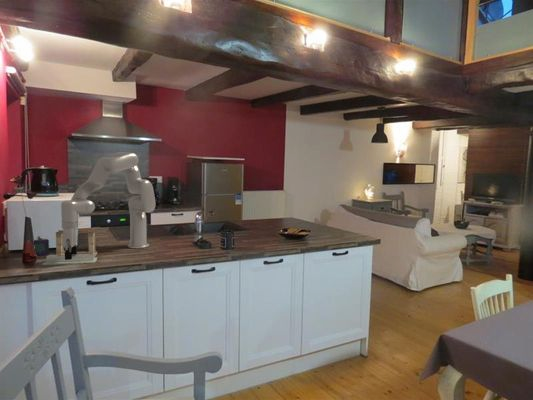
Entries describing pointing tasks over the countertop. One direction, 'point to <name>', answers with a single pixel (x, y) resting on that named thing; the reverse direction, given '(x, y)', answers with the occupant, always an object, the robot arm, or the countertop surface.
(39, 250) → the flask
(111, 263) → the countertop surface
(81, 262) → the mat
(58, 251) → the rack
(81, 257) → the rail
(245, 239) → the countertop surface
